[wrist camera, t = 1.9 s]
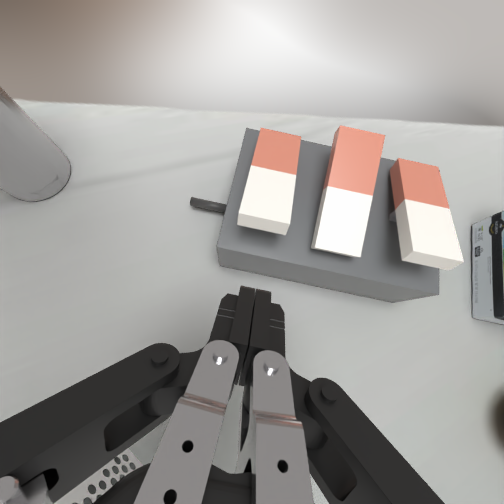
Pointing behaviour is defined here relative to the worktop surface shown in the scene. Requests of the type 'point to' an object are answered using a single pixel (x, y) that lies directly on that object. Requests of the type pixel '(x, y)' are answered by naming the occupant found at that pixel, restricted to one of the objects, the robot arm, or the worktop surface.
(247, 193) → the block
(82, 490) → the grater
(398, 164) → the rocker
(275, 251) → the switch console
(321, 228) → the block
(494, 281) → the tea box
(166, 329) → the worktop surface
